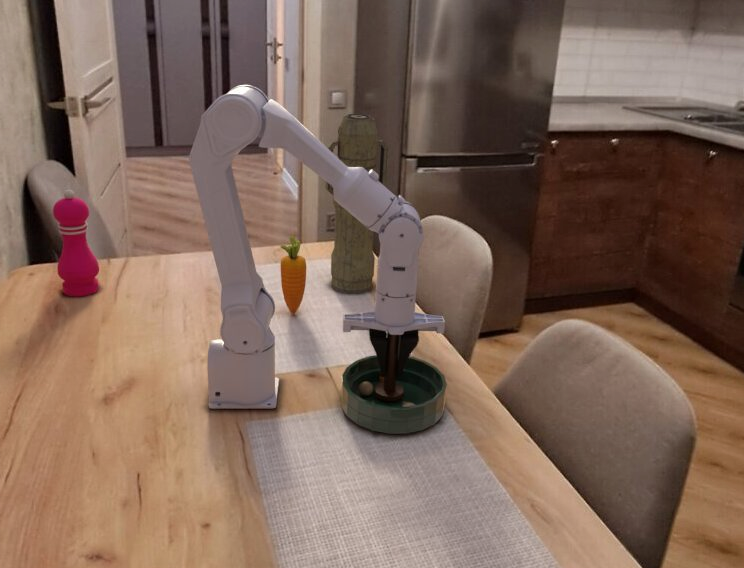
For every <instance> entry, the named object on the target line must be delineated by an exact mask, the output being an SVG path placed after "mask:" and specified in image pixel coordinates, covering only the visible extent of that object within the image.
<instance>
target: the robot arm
mask: <svg viewBox="0 0 744 568" xmlns="http://www.w3.org/2000/svg"><path fill="white" fill-rule="evenodd" d="M257 138H261V139H260V142H259V144H258V148H261V149H262V148H264V149H281V150H285V151H286V152H287V153H288V154H290V155H291V156H292V157H294V158H295V159H296V160H298V161H299V162H300V163H302V164H303V165H304V166H306V167H307V169H309V170H311V172H313V173H314V174H315V175H317V176H318V177H320V178H321V179H322V180H324V181H325V183H326V182H328V183H329V184H330V185H332V187H333V192H334V200H335V201H336V202H337V203H338V204H340V205H341V206H342V207H343V208H344V209H346V210H347V211H348V212H349V213H350V214H352V215H353V216H354V217H355V218H356V219H357V220H359V221H360V222H361V223H362V224H363V225H365V226H366V227H367V228H368V229H369V230H371V231H373V233H377V234H378V241H379V243H380V248H379V255H378V257H377V263H376V264H377V266H376V281H375V284H376V285H375V297H374V310H371V311H364V312H358V313H344V314H342V333H351V332H352V331H368V335H369V341H370V344H371V346H372V348H373V350H374V353H375V355H377V358H378V361H379V366H380V377H385V375H386V351H387V344H388V342H387V331H388V332H389V334H391V335H399V348H398V362H397V373H396V376H397V377H401V376H402V372H403V369H404V366H405V364H406V362H407V360H408V358H409V356H411V354H412V353H413V351H414V350H415V348H416V347H417V346H418V344H419V341H420V335H419V332H435V333H436V334H445V327H446V325H445V324H446V320H445V317H444V316H443V315H436V314H435V315H434V314H427V313H422V312H416V302H417V301H416V300H417V290H418V289H417V288H418V276H419V266H420V261H419V254H420V248H421V246H422V245H423V243H424V239H425V235H424V231H423V230H424V229H423V227H422V226H423V225H422V222H421V217H420V215H419V213H418V211H417V210H416V209H415V207H414V206H413V203H411V202H410V201H406V200H405V199H406V198H404V197H403V196H402V195H401V194H399V195H398V196H397V195H395V194H394V193H393V192H392V191H390V189H388V188H387V187H386V185H385V186H384V185H382V184H381V183H380V182H379V176H380V174H378V173H377V171H376V172H375V171H374V170H370V171H369V172H368V171H366V170H365V169H364V168H363V167H347V166H346V165H345V164H344V163H343V162H342V161H341V160H340V159H339V158H338V155H337V156H336V155H335V153H334V152H333V153H332V152H331V151H330V150H329V149H328V148H327V147H328V146H326V145H325V144H324V143H323V142H322V141H321V140H320V139H319V138H318V137H316V136H315V135H314V134H313V133H312V132H311V131H310V130H309V129H308V128H307V127H306V126H305V125H303V123H301V121H299V120H298V119H297V118H296V117H295V116H294V115H292V113H290V112H289V111H288V109H286V108H285V107H284V106H283V105H281V104H280V103H279V102H277V101H276V100H275V99H272V98H271V99H269V98H268V96H267V94H265V93H264V91H262V90H261V89H260V88H258V87H256V86H253V85H250V84H242V85H241V84H239V85H237V86H234V87H233V88H231V89H229V91H228V92H227V93H225V94H223V95H220V96H219V97H218V98H215V100H214V101H213V102H212V103H211V104H210V105H209V107H208V108H207V109H206V110H205V111H204V112H203V114H201V117H200V123H199V127H198V130H197V133H196V135H195V138H194V141H193V144H192V147H191V150H190V153H189V156H188V160H189V167H190V171H191V175H192V178H193V182H194V187H195V190H196V193H197V198H198V202H199V205H200V209H201V213H202V217H203V220H204V224H205V228H206V232H207V236H208V240H209V243H210V248H211V251H212V255H213V259H214V263H215V267H216V269H217V274H218V278H219V282H220V287H221V288H220V289H221V290H220V312H221V315H222V319H221V321H222V322H221V324H220V328H219V329H220V330H219V333H220V338H215V339H211V340H210V342H209V345H208V351H207V385H208V408H209V409H213V410H214V409H215V410H216V409H220V410H221V409H226V410H227V409H231V410H234V409H236V410H237V409H241V410H242V409H246V410H247V409H249V410H251V409H252V410H253V409H255V410H256V409H259V410H260V409H276V408H277V402H278V395H279V387H280V378H279V377H276V342H275V340H276V339H275V338H276V337H275V334H274V332H273V331H272V330H271V327H270V325H271V321H272V318H273V316H274V315H275V311H276V305H275V300H274V298H273V296H272V295H271V294H270V293H269V291H268V290H267V289H266V287H265V284H264V280H263V278H262V276H260V275H259V273H258V272H257V267H256V264H255V259H254V256H253V252H252V247H251V242H250V239H249V235H248V230H247V226H246V223H245V221H246V220H245V216H244V213H243V209H242V204H241V200H240V197H239V191H238V187H237V184H236V179H235V175H234V169H233V167H232V164H233V162H234V160H235V159H236V158H237V156H238V155H239V153H240V152H241V151H242V150H243V149H244V148H246V147H247V146H248V145H250V144H251V143H253V142H254V141H255V140H256V139H257Z"/></svg>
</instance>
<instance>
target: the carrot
mask: <svg viewBox="0 0 744 568" xmlns="http://www.w3.org/2000/svg"><path fill="white" fill-rule="evenodd" d="M289 241H290V245H288V246H287V245H284V244H281V245H280V246H279V247H280V249H282V250H284V251H285V252H286V253H287V254H288V255H285V256H283V257H282V258H281V259H280V281H281V289H282V296H283V300H284V302H285V305H286V307H287V309H288V310H289V312H290V313H291V314H292V315H295V313H297V311H298V310H299V308H300V306H301V304H302V301H303V298H304V295H305V290H306V289H305V288H306V282H307V262H306V258H305V257H304V256H301V255H299V251H300V249H301V245H302V242H301V241H300V240H297V242H296V238H295V236H294V235H290V236H289Z"/></svg>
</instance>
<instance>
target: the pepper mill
mask: <svg viewBox="0 0 744 568" xmlns="http://www.w3.org/2000/svg"><path fill="white" fill-rule="evenodd" d="M52 214H53V218H54V219H55V220H56V221H57V222H58V224H57V227H58V232H59V234H61V238H62V251H61V254H60V256H59V259H58V262H57V275H58V277H59V278H60V279H61V280H63V281H62V283H61V286H62V293H63V294H64V295H66V296H69V297H87V296H90V295H92V294H95V293H97V292H98V291H99V289H100V287H99V280H98V278H96V277H97V276H98V274H99V272H100V265H99V262H98V259H97V258H96V256H95V254H94V253H93V251H92V250H91V248H90V246H89V244H88V240H87V231H89V227H88V225H89V224H88V222H87V219H88V218H89V216H90V209H89V206H88V204H87V203H86V202H85V201H84V200H83V199H81V198H79V197H75V191H73V190H72V189H66V190H64V192H63V198H60V199H58V200H57V201H56V202H55V204H54V205H53V208H52Z"/></svg>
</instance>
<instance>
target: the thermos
mask: <svg viewBox="0 0 744 568" xmlns="http://www.w3.org/2000/svg"><path fill="white" fill-rule="evenodd" d="M378 134H379V133H378V128H377V125H376V121H375V118H374V117H372V116H371V115H368V114H363V113H349V114H346V115H344V116H342V118H341V121H340V124H339V126H338V130H337V138H336V139H334V140H331V141H330V143H329V144H328V145H327V146H326V147H327V148H328V149H329V150H330V151H331V152H332V153H333V154H334V150H335V148H336V147H337V154H336V155H337V157H338V158H339V159H340V160H341V161H342V162H343V163H344V164H345V165H346V166H347V167H363V168H364V169H365V170H366V171H368V172H369V171H370V170H374V171H375V172H376V173H377V164H376V159H377V154H378V148H380V160H379V178H378V181H379V182H380V183H381V184H382V185H384V186H385V187H386V184H387V166H388V149H389V148H388V146H387V145H386V142H384V141H383V140H382V139H378V137H379V135H378ZM325 189H326V191H327V192H329V194H331V195H332V204H333V207H334V236H333V237H334V242H333V245H334V246H333V250H332V252H331V255H330V276H331V283H330V285H331V288H332V289H333V290H335V291H337V292H339V293H344V294H350V295H351V294H352V295H356V294H363V293H367V292H369V291H370V290H372V288H373V278H374V276H375V261H376V258H375V253H374V251H373V248H374V247H373V246H374V231H371V230H369V229H368V228H367V227H366V226H365V225H363V224H362V223H361V222H360V221H359V220H357V219H356V218H355V217H354V216H353V215H352V214H350V213H349V212H348V211H347V210H346V209H344V208H343V207H342V206H341V205H340V204H338V203H337V202H336V201H335V200H334V192H333V187H332V185H330V184H329V183H328V182H326V181H325Z"/></svg>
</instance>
